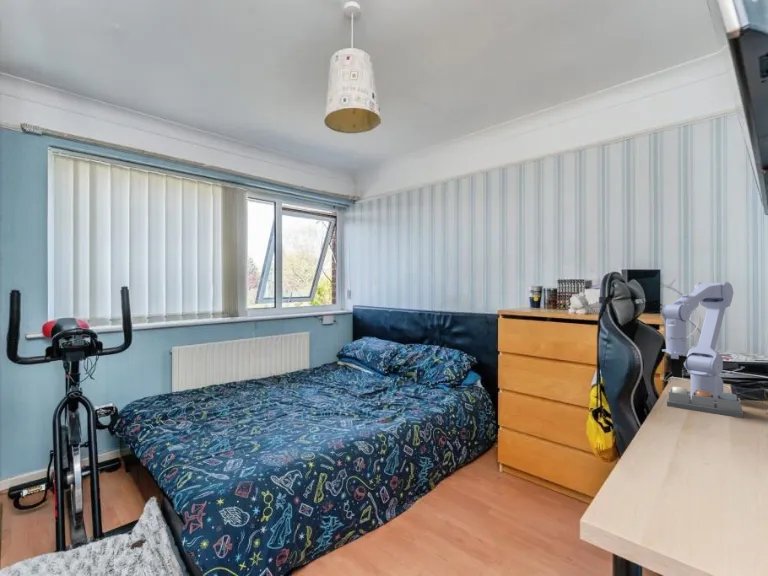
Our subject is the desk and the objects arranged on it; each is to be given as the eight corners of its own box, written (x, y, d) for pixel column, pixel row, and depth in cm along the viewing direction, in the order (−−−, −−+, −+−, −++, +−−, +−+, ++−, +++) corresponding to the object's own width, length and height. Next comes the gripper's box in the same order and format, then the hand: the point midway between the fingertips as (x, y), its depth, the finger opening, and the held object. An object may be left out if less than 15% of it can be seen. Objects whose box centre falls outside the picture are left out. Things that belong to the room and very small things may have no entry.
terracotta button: (695, 400, 124) (695, 391, 124) (695, 397, 127) (695, 388, 127) (711, 402, 121) (710, 393, 121) (711, 399, 124) (711, 390, 124)
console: (667, 405, 127) (666, 392, 127) (669, 400, 134) (669, 387, 134) (743, 418, 114) (742, 403, 114) (741, 411, 121) (741, 397, 121)
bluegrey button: (720, 403, 120) (719, 394, 120) (720, 401, 123) (719, 392, 123) (737, 406, 117) (736, 396, 117) (736, 403, 120) (736, 394, 120)
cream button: (671, 396, 128) (671, 388, 128) (672, 394, 131) (672, 385, 131) (686, 398, 125) (686, 390, 125) (687, 396, 128) (687, 387, 128)
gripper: (664, 335, 138) (664, 371, 138) (659, 339, 127) (660, 378, 127) (688, 336, 133) (689, 374, 133) (686, 340, 123) (686, 381, 122)
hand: (676, 376), depth 130 cm, fingers closed
